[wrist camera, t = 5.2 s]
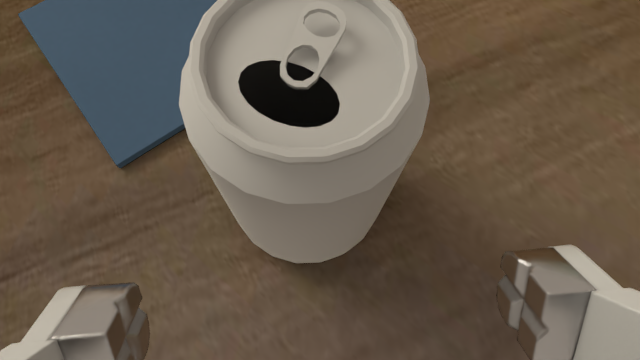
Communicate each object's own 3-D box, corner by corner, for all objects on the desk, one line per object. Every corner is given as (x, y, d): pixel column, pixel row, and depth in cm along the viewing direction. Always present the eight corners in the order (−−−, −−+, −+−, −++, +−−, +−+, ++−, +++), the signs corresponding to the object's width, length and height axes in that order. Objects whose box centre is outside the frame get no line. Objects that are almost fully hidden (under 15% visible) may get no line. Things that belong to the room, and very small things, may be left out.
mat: (120, 168, 23) (116, 165, 23) (22, 19, 26) (17, 13, 26) (330, 38, 26) (330, 33, 26) (220, -81, 29) (219, -88, 29)
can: (207, 227, 22) (101, 108, 11) (275, 109, 24) (246, -89, 13) (343, 292, 21) (382, 236, 10) (399, 163, 24) (483, -2, 12)
